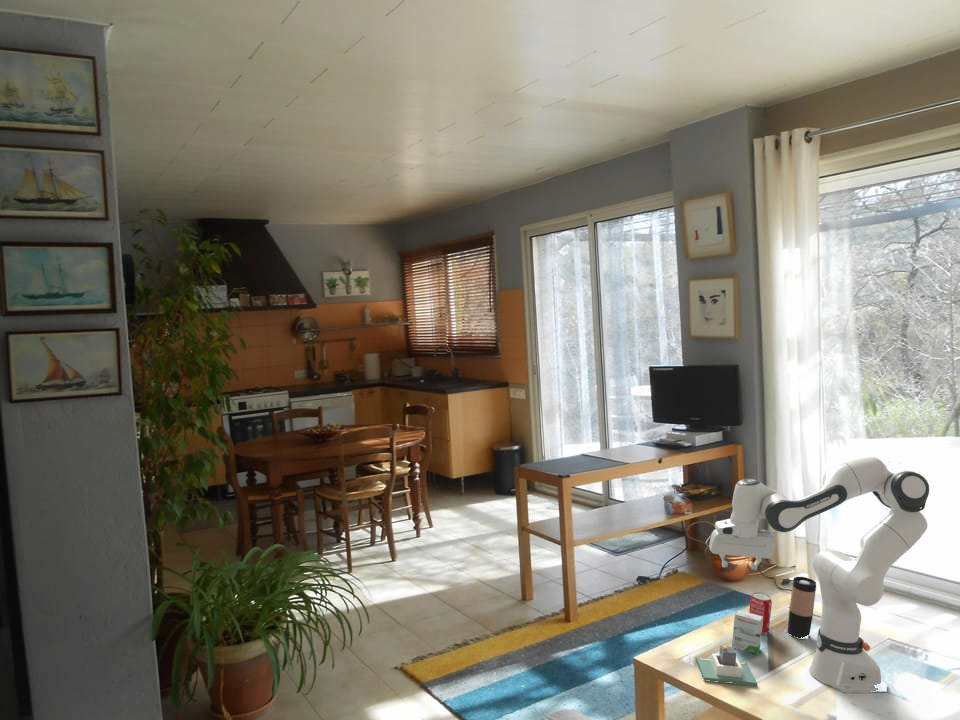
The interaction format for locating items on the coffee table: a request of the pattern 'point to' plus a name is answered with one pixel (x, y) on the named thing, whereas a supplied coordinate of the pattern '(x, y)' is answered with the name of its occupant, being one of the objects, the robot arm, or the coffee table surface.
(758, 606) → the soda can
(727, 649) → the plug
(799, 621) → the travel mug
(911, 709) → the coffee table surface
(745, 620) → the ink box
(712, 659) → the header board
